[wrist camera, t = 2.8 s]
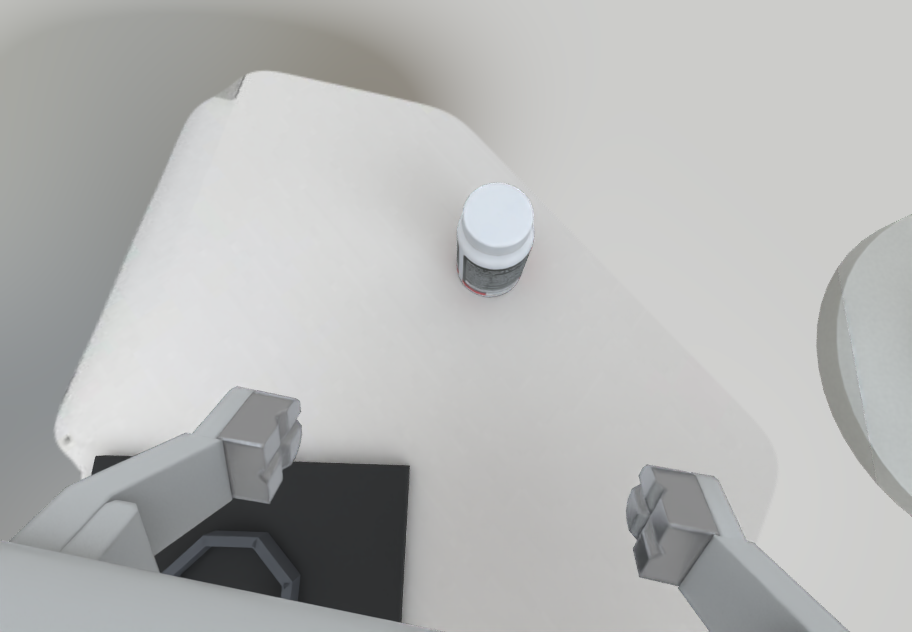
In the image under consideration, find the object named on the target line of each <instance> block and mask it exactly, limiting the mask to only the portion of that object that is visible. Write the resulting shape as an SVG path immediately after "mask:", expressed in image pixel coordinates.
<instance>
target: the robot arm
mask: <svg viewBox="0 0 912 632" xmlns="http://www.w3.org/2000/svg"><path fill="white" fill-rule="evenodd" d="M300 412H301V407H300V401H299V400H298V399H296V398H291V397H287V396H282V395H277V394H273V393H268V392H263V391H259V390H257V391H256V390H252V389H247V388H243V387H238V386H236V387H234V388H232V389H231V390H229V392H228V393H227V394H226V395H225V396H224V397H223V399H222V400H221V401H220V402H219V403H218V404H217V406H216V407H215V408H214V409H213V410H212V411H211V412H210V414H209V415H208V416H207V417H206V418H205V419H204V421H203V422H202V423H201V424H200V425H199V426H198V428H197V429H196V430H195V431H194V432H193V433H192V434H190V433H184V434H182V435H180V436H178V437H175V438H173V439H171V440H169V441H166V442H164V443H162V444H160V445H158V446H155V447H153V448H151V449H149V450H147V451H144V452H142V453H140V454H138V455H135V456H133V457H131V458H129V459H127V460H124V461H122V462H120V463H118V464H116V465H113V466H111V467H109V468H107V469H105V470H102V471H100V472H98V473H96V474H93V475H91V476H89V477H87V478H85V479H82V480H80V481H78V482H76V483H74V484H71V485H69V486H67V487H65V488H64V489H63V490H62V491H61V492H60V493H59V494H58V495H57V496H56V497H55V498H54V499H53V500H52V501H50V502H49V503H48V504H47V505H46V506H45V507H44V508H43V509H42V510H41V511H40V512H39V513H38V514H37V515H36V516H35V517H34V518H33V519H32V520H31V521H30V522H28V524H26V525H25V526H24V527H23V528H22V529H21V530H20V531H19V532H18V533H17V534H16V535H15V536H14V537H13V538H12V539H11V540H10V541H9V542H8V541H2V540H0V632H444V631H439V630H434V629H429V628H424V627H419V626H414V625H409V624H405V623H400V622H395V621H390V620H385V619H380V618H375V617H371V616H366V615H361V614H356V613H351V612H346V611H341V610H337V609H332V608H327V607H322V606H317V605H312V604H307V603H303V602H298V601H293V600H288V599H283V598H278V597H274V596H269V595H264V594H259V593H254V592H249V591H244V590H240V589H235V588H230V587H225V586H220V585H215V584H211V583H206V582H201V581H196V580H191V579H186V578H181V577H177V576H172V575H167V574H162V573H160V571H159V568H158V565H157V563H156V560H155V557H154V556H155V555H156V554H157V553H159V552H160V551H162V550H163V549H164V548H166V547H167V546H169V545H170V544H171V543H173V542H174V541H176V540H177V539H178V538H180V537H181V536H183V535H184V534H185V533H187V532H188V531H190V530H191V529H192V528H194V527H195V526H197V525H198V524H199V523H201V522H202V521H204V520H205V519H206V518H208V517H209V516H211V515H212V514H213V513H215V512H216V511H218V510H219V509H220V508H222V507H223V506H225V505H226V504H227V503H229V502H230V501H232V498H237V499H243V500H249V501H255V502H261V503H267V504H270V502H271V500H272V499H273V497H274V495H275V493H276V491H277V490H278V488H279V486H280V484H281V483H282V481H283V474H282V470H283V469H285V468H287V467H288V466H290V465H292V463H293V461H294V459H295V457H296V455H297V452H298V449H299V446H300V443H301V436H302V425H301V424H300V423H299V422H298V420H297V417H298V416H299V414H300ZM639 479H640V483H641V484H640V485H638V486H636V487H634V488H633V489H632V490H631V493H630V495H629V497H628V501H627V508H626V516H627V524H628V529H629V531H630V532H631V533H632V535H633V536H634V537H635V538H636V539H637V542H636V544H635V546H634V547H633V551H634V556H635V560H636V564H637V569H638V573H639V577H640V578H645V579H649V580H654V581H658V582H662V583H667V584H671V585H676V586H679V587H678V589H679V590H680V591H681V593H682V594H683V596H684V597H685V598H686V600H687V601H688V602H689V604H690V605H691V607H692V608H693V609H694V611H695V612H696V614H697V615H698V616H699V618H700V619H701V621H702V622H703V623H704V625H705V626H706V627H707V629H708V630H709V632H850V631H848V630H847V629H846V628H845V627H844V626H843V625H842V624H841V623H840V622H839V621H838V620H837V619H836V618H834V617H833V616H832V615H831V614H830V613H829V612H828V611H827V610H826V609H825V608H824V607H823V606H822V605H820V604H819V603H818V602H817V601H816V600H815V599H814V598H813V597H812V596H811V595H810V594H809V593H808V592H806V591H805V590H804V589H803V588H802V587H801V586H800V585H799V584H798V583H797V582H796V581H794V580H793V579H792V578H791V577H790V576H789V575H788V574H787V573H786V572H785V571H784V570H783V569H782V568H780V567H779V566H778V565H777V564H776V563H775V562H774V561H773V560H772V559H771V558H770V557H769V556H768V555H767V554H765V553H764V552H763V551H762V550H761V549H760V548H759V547H758V546H757V545H756V544H755V543H752V542H748V541H747V540H746V538H745V536H744V534H743V532H742V530H741V528H740V525H739V523H738V521H737V519H736V517H735V515H734V512H733V510H732V508H731V506H730V504H729V502H728V500H727V497H726V495H725V493H724V491H723V489H722V487H721V484H720V482H719V480H718V479H716V478H715V477H714V476H709V475H704V474H698V473H692V472H691V473H690V472H686V471H681V470H675V469H669V468H664V467H658V466H653V465H646V466H644V467H643V468H642V470H641V472H640V474H639Z"/></svg>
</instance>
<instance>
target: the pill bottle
mask: <svg viewBox="0 0 912 632" xmlns="http://www.w3.org/2000/svg"><path fill="white" fill-rule="evenodd" d="M533 220H534V212H533V207H532V204H531V202H530V200H529V199H528V197H527V196H526V195H525V194H524V193H523V192H522V191H521V190H520V189H518V188H516V187H515V186H512V185H510V184H506V183H489V184H486V185H483V186H481V187H479V188H477V189H476V190H475V191H473V192H472V193H471V194H470V196H469V197H468V198H467V200H466V202H465V205H464V208H463V214H462V216H461V218H460V220H459V223H458V227H457V271H458V275H459V277H460V279H461V281H462V283H463V284H464V285H465V286H466V287H467V288H468V289H469V290H470V291H472V292H474V293H475V294H478V295H481V296H486V297H492V296H498V295H502V294H504V293H506V292H508V291H510V290H511V289H512V288H513V287H514V286H515V285H516V284H517V282H518V280H519V279H520V276H521V274H522V271H523V268H524V266H525V263H526V261H527V258H528V256H529V253H530V251H531V248H532V245H533V242H534V225H533Z"/></svg>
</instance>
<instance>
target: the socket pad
mask: <svg viewBox="0 0 912 632" xmlns="http://www.w3.org/2000/svg"><path fill="white" fill-rule="evenodd" d="M131 457H133V456H108V455H106V456H96V457H95V461H94V465H93V470H92V475H93V474H96V473H98V472H100V471H102V470H105V469H107V468H109V467H111V466H113V465H116V464H118V463H120V462H122V461H124V460H127V459H129V458H131ZM409 470H410V466H406V465H377V464H347V463H317V462H293V463H292V465H290V466H288V467H287V468H285V469H283V470H282V474H283V481H282V483H281V484H280V486H279V488H278V490H277V491H276V493H275V495H274V497H273V499H272V500H271V502H270V504H267V503H261V502H255V501H249V500H243V499H237V498H232V501H230V502H229V503H227V504H226V505H225V506H223V507H222V508H220V509H219V510H218V511H216V512H215V513H213V514H212V515H211V516H209V517H208V518H206V519H205V520H204V521H202V522H201V523H199V524H198V525H197V526H195V527H194V528H192V529H191V530H190V531H188V532H187V533H185V534H184V535H183V536H181V537H180V538H178V539H177V540H176V541H174V542H173V543H171V544H170V545H169V546H167V547H166V548H164V549H163V550H162V551H160V552H159V553H157V554H156V555H155V556H154V557H155V560H156V563H157V565H158V568H159V571H160V573H162V574H167V575H172V576H177V577H181V578H186V579H191V580H196V581H201V582H206V583H211V584H215V585H220V586H225V587H230V588H235V589H240V590H244V591H249V592H254V593H259V594H264V595H269V596H274V597H278V598H283V599H288V600H293V601H298V602H303V603H307V604H312V605H317V606H322V607H327V608H332V609H337V610H341V611H346V612H351V613H356V614H361V615H366V616H371V617H375V618H380V619H385V620H390V621H395V622H400V623H401V617H402V599H403V581H404V562H405V544H406V525H407V507H408V489H409Z"/></svg>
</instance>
